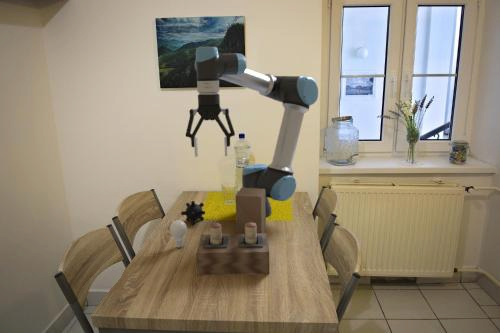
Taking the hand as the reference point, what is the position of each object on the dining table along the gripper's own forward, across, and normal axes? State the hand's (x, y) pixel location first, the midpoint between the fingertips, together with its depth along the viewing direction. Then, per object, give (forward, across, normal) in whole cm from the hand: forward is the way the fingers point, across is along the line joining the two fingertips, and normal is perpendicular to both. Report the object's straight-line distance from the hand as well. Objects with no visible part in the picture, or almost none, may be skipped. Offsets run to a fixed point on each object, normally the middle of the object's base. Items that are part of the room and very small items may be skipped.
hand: (211, 155), depth 135 cm
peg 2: (+30, +14, -14) cm, 36 cm away
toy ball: (+36, -12, +23) cm, 44 cm away
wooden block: (+36, +14, +4) cm, 39 cm away
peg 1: (+30, +2, -14) cm, 33 cm away
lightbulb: (+36, -14, -1) cm, 38 cm away
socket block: (+36, +8, -14) cm, 39 cm away
